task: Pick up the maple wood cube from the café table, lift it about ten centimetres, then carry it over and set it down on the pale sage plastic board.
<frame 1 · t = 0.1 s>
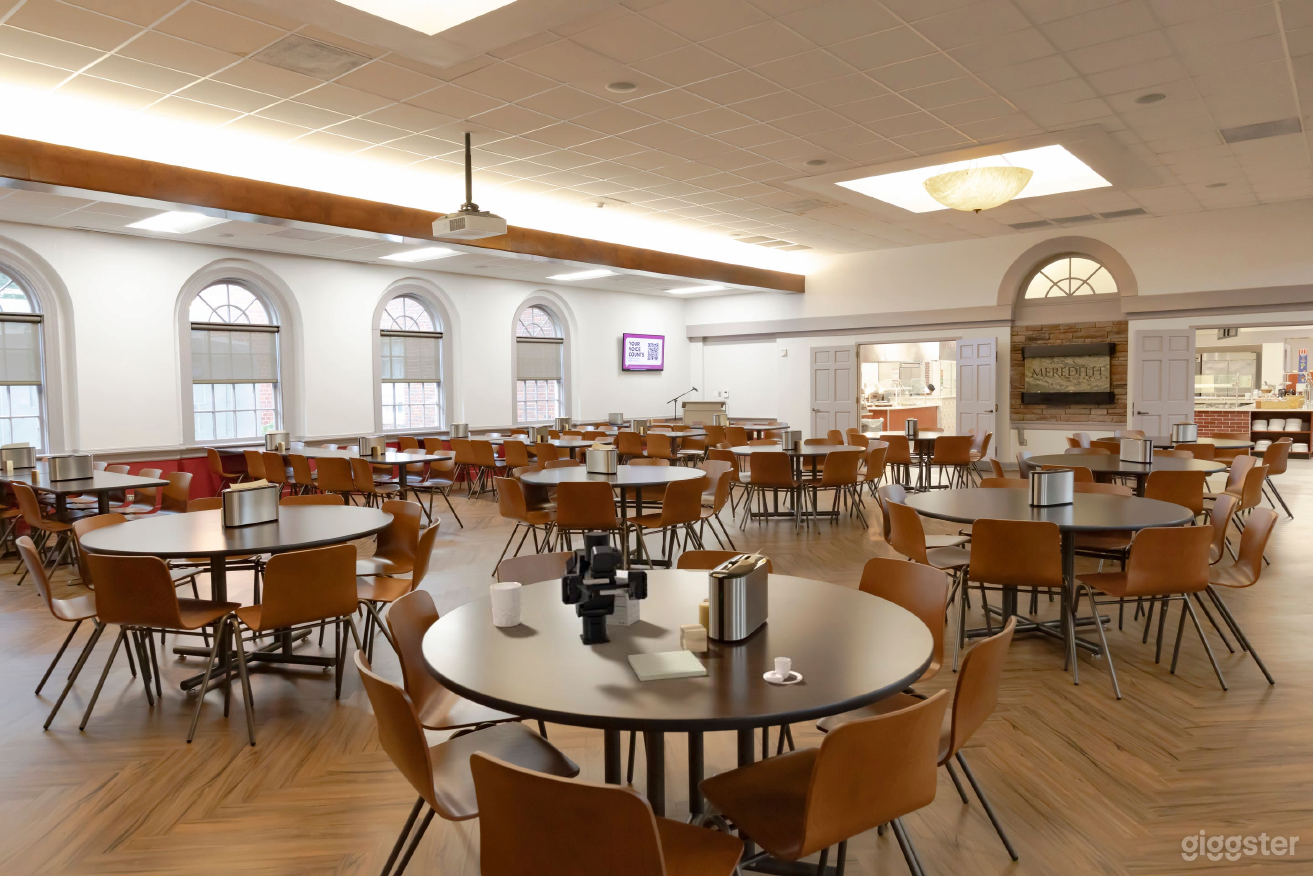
hand: (610, 596, 172), 17 cm above the table, tool horizontal, fingers open, 9 cm apart
maple cube: (693, 649, 190), on the table
white cup: (506, 624, 213), on the table
supplement box: (621, 622, 214), on the table
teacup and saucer: (767, 679, 170), on the table
sage board: (666, 667, 177), on the table
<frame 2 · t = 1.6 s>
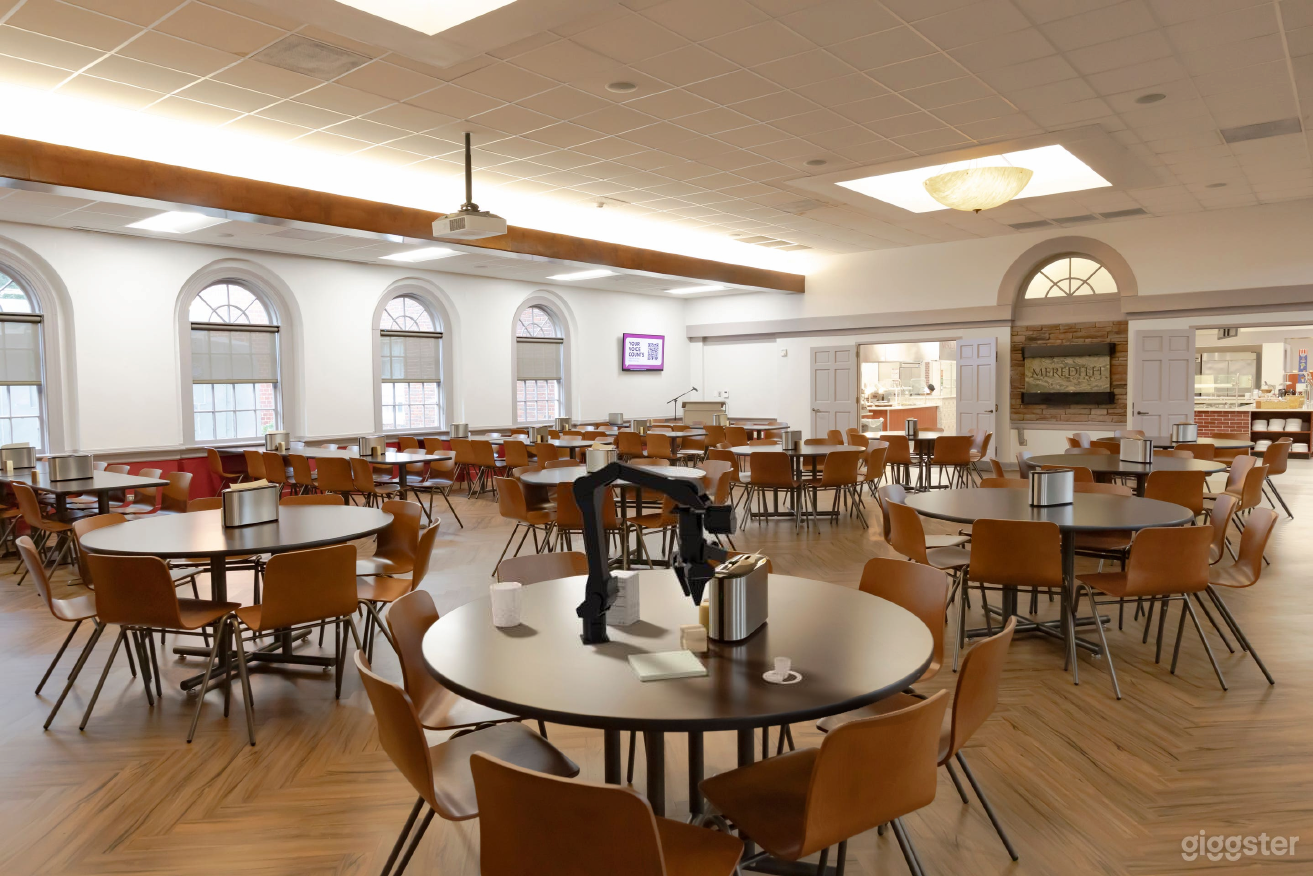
hand: (692, 601, 189), 11 cm above the table, tool pointing down, fingers open, 9 cm apart
nothing on the table moved.
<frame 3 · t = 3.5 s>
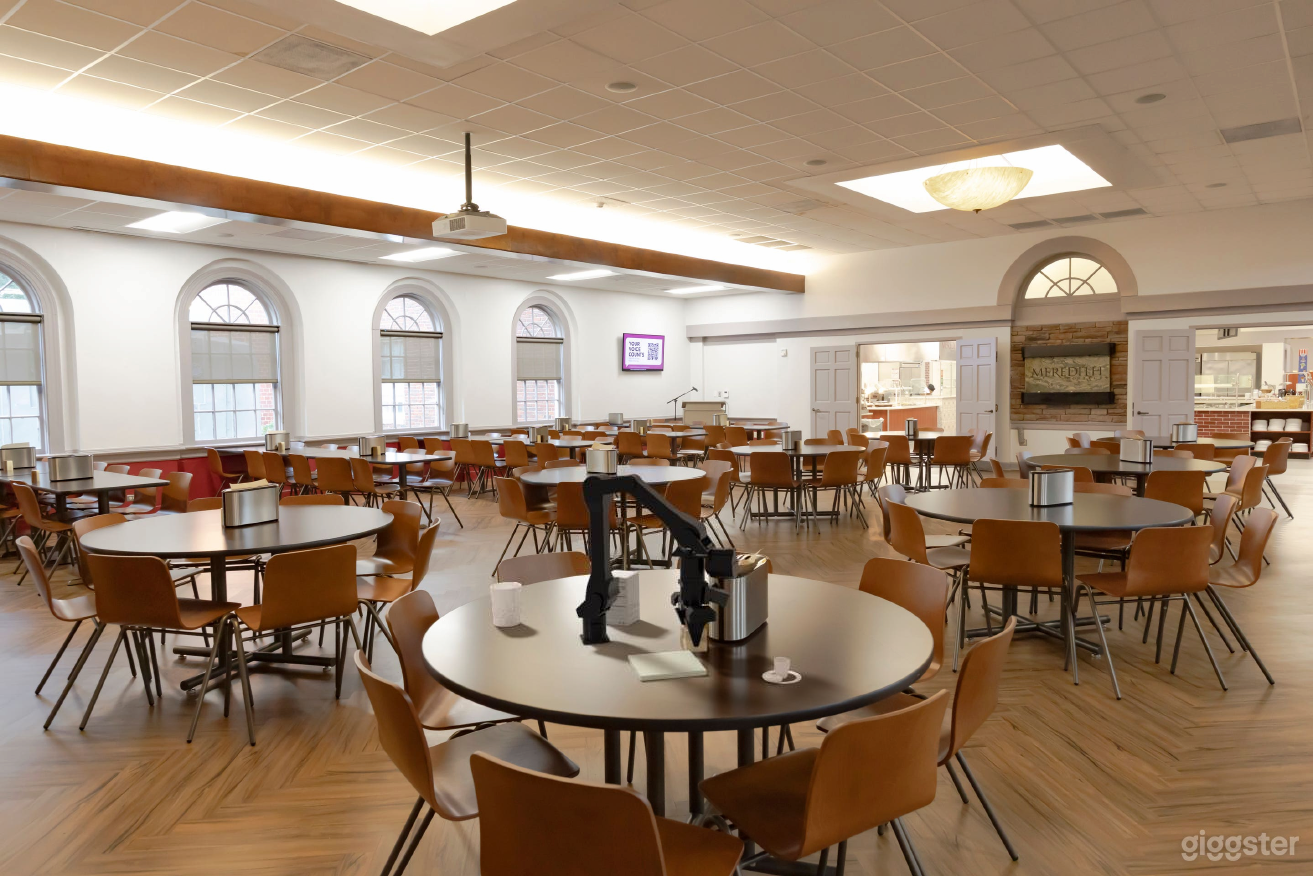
hand: (693, 643, 190), 1 cm above the table, tool pointing down, fingers closed on maple cube, 5 cm apart
maple cube: (693, 648, 190), on the table, touching gripper
everything else where it was.
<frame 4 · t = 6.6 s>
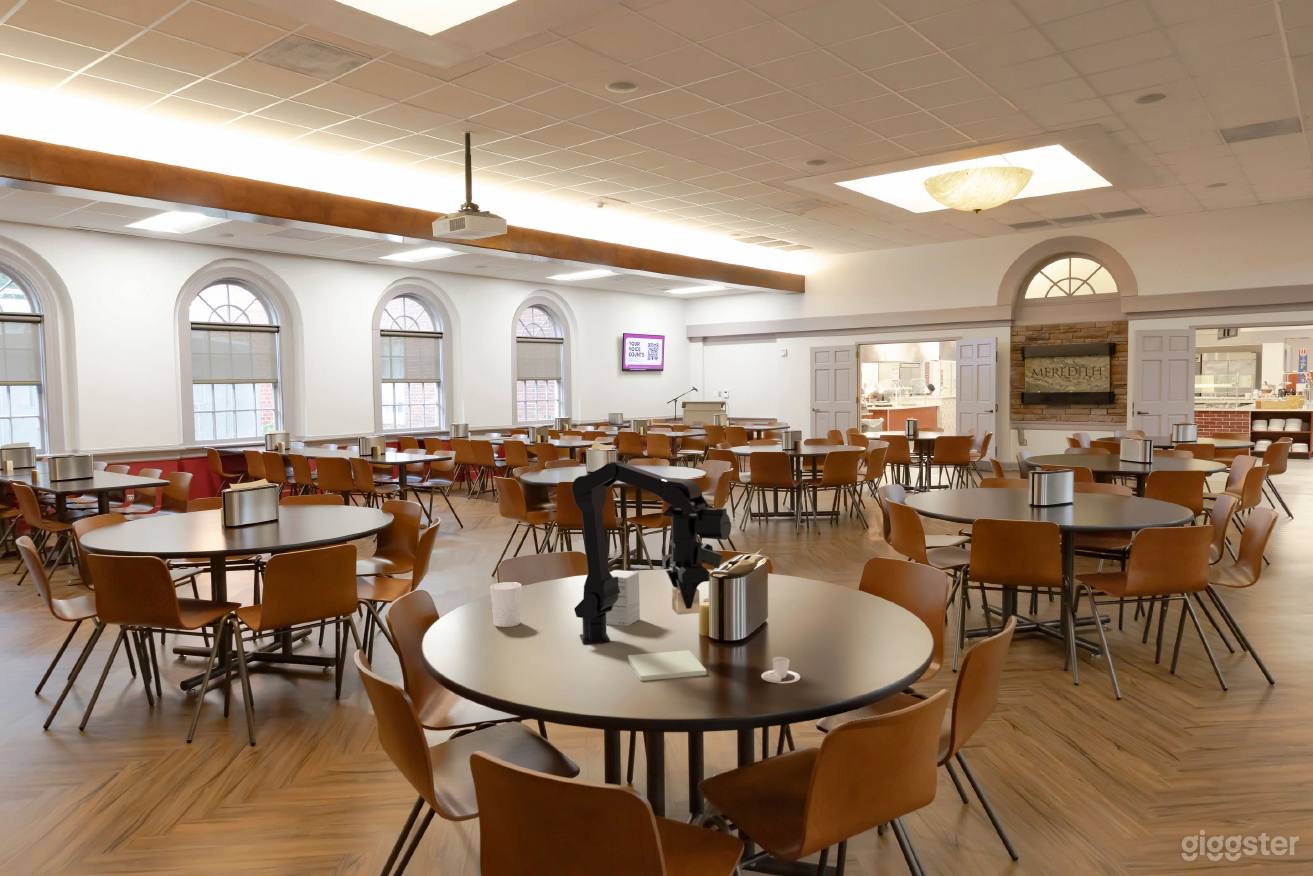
hand: (685, 605, 186), 11 cm above the table, tool pointing down, fingers closed on maple cube, 5 cm apart
maple cube: (685, 611, 186), point 10 cm above the table, touching gripper
everything else where it was.
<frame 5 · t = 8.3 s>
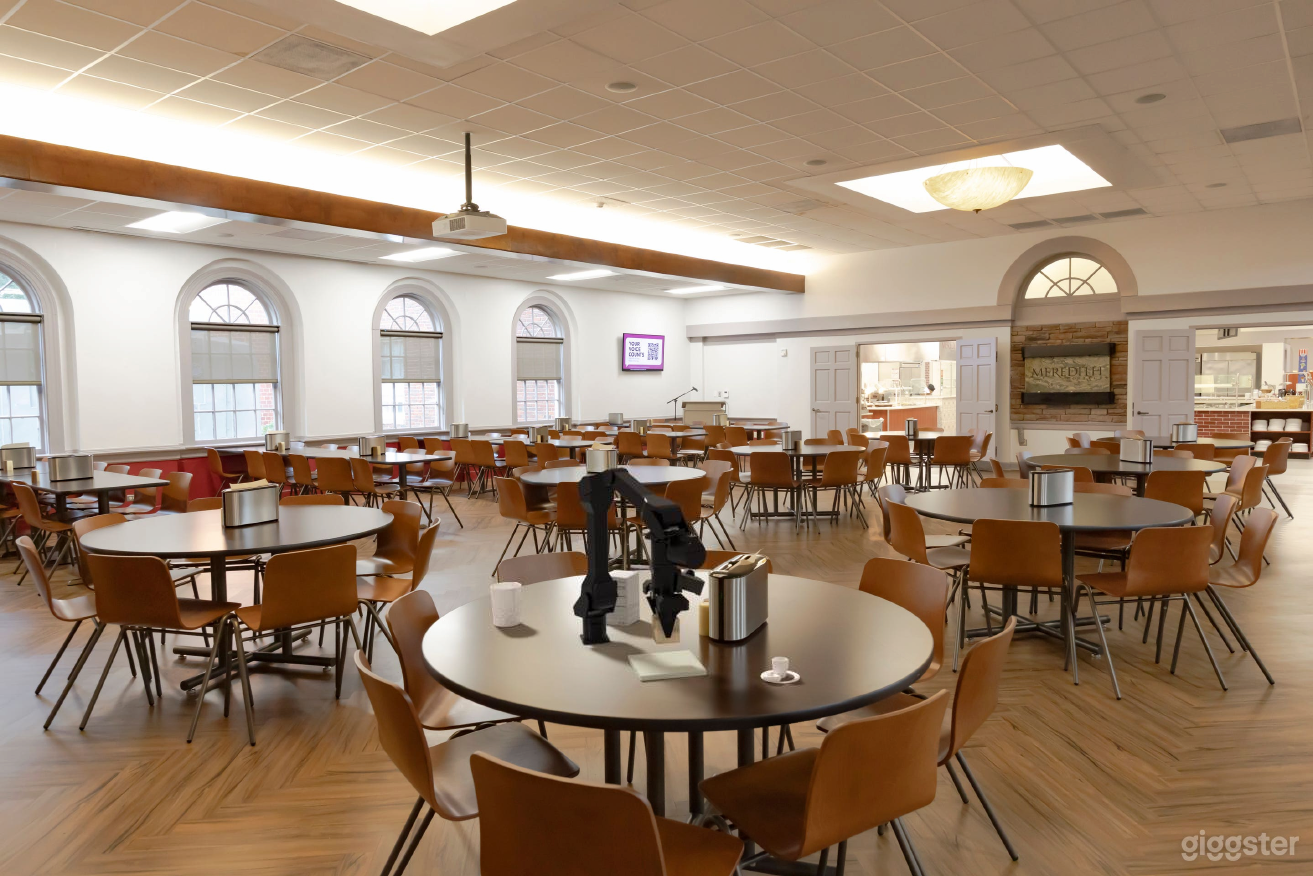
hand: (665, 634, 177), 7 cm above the table, tool pointing down, fingers closed on maple cube, 5 cm apart
maple cube: (665, 640, 177), point 6 cm above the table, touching gripper
everything else where it was.
when the fingers open (3 cm above the table, at t = 9.9 s): maple cube drops 1 cm, resting on sage board.
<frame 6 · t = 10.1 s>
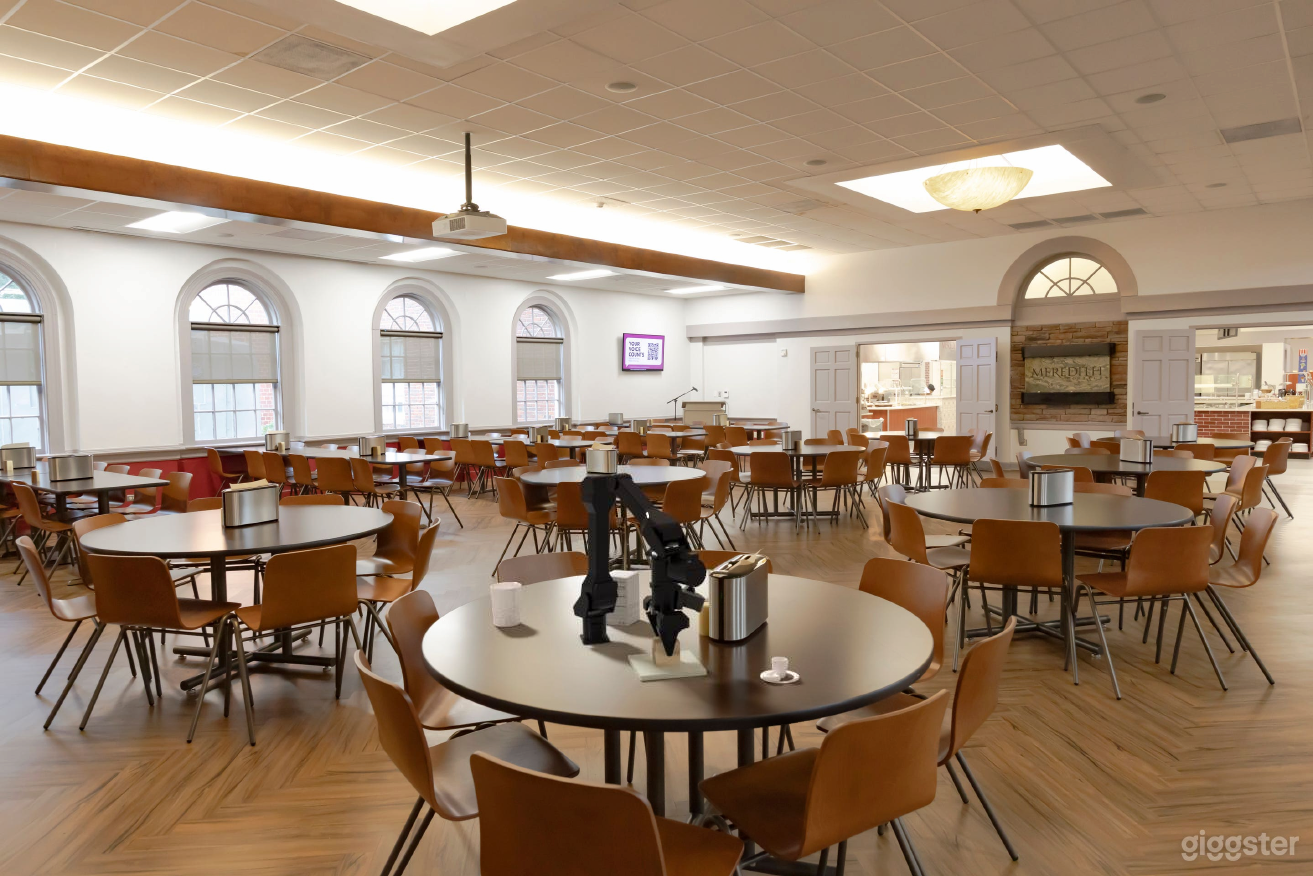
hand: (665, 651, 177), 3 cm above the table, tool pointing down, fingers open, 7 cm apart
maple cube: (666, 662, 177), point 1 cm above the table, touching sage board
everything else where it was.
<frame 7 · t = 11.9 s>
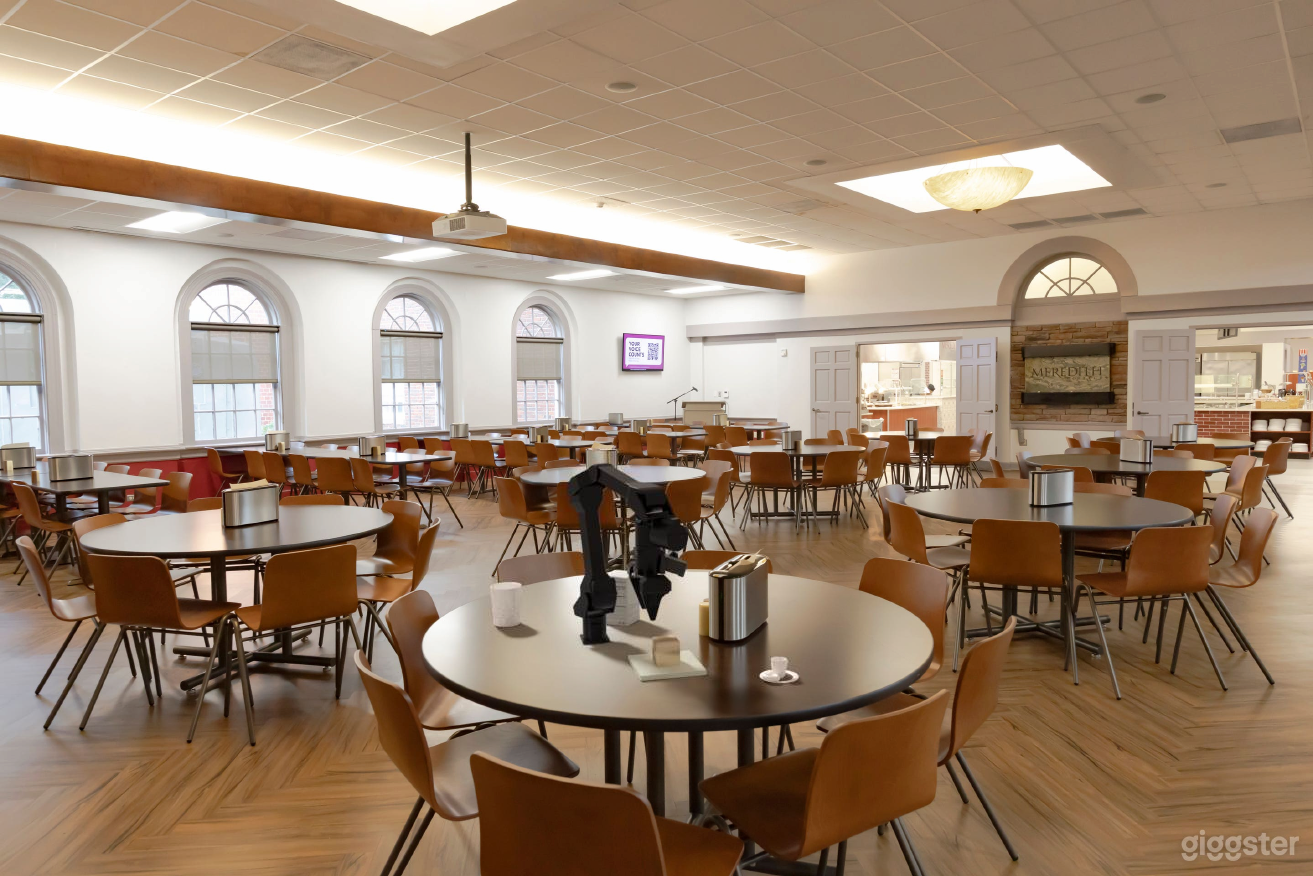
hand: (648, 614, 180), 10 cm above the table, tool pointing down, fingers open, 9 cm apart
nothing on the table moved.
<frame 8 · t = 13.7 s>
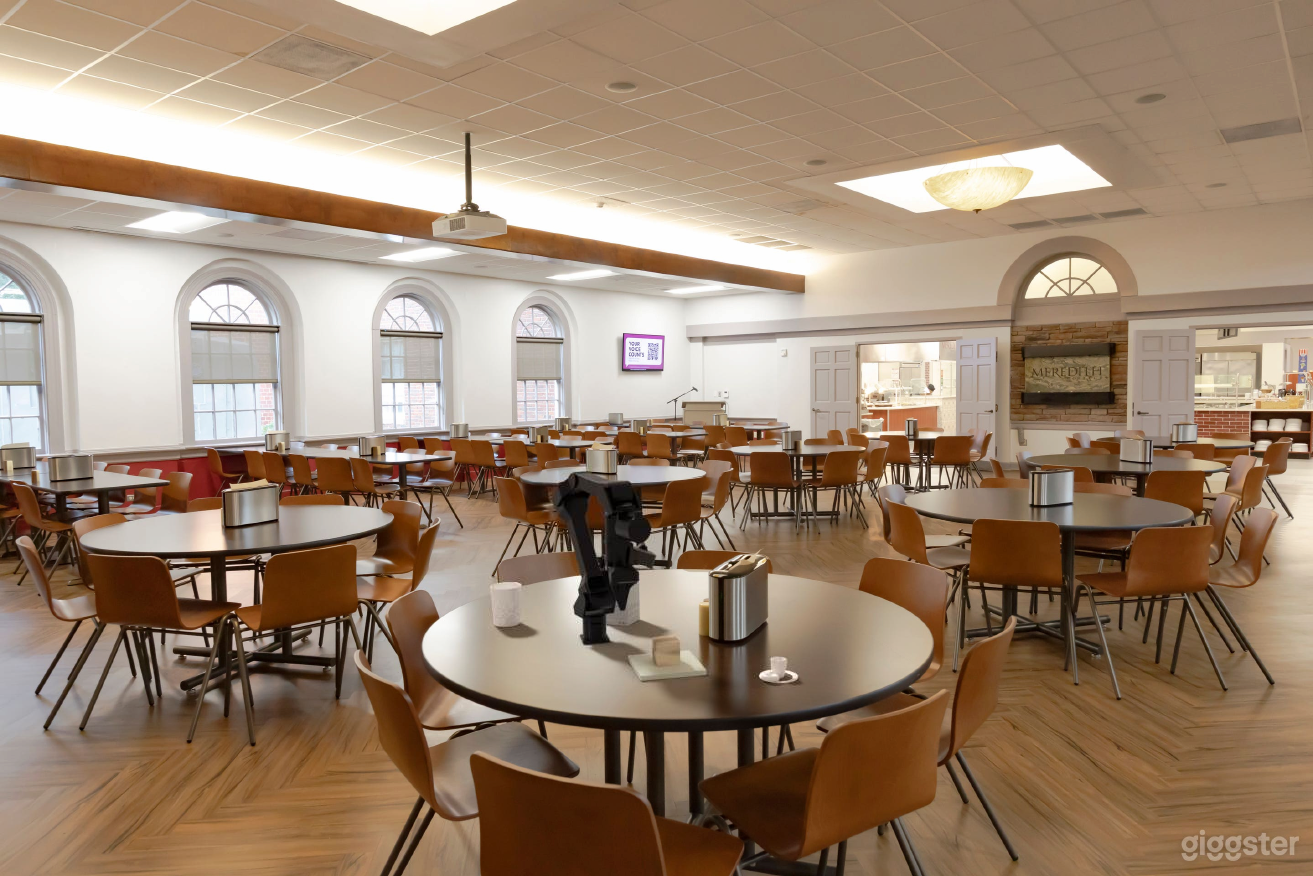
hand: (619, 605, 187), 11 cm above the table, tool pointing down, fingers open, 9 cm apart
nothing on the table moved.
at the end: maple cube inside the target area on the sage board (0.1 cm from its centre), point 1.0 cm above the sage board's base; maple cube tilted 0°; the gripper is holding nothing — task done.
